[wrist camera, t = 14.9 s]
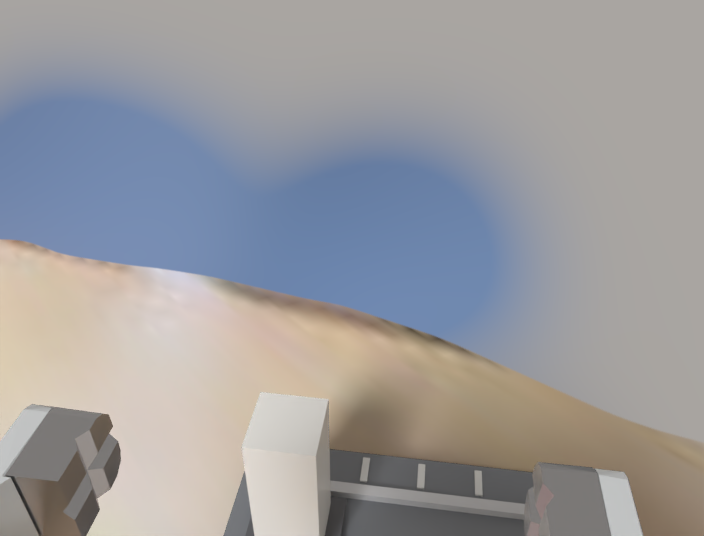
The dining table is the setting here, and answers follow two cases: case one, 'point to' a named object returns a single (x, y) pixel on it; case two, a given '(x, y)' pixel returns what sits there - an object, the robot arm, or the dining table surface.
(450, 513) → the console
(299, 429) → the fader knob
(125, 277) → the dining table surface
